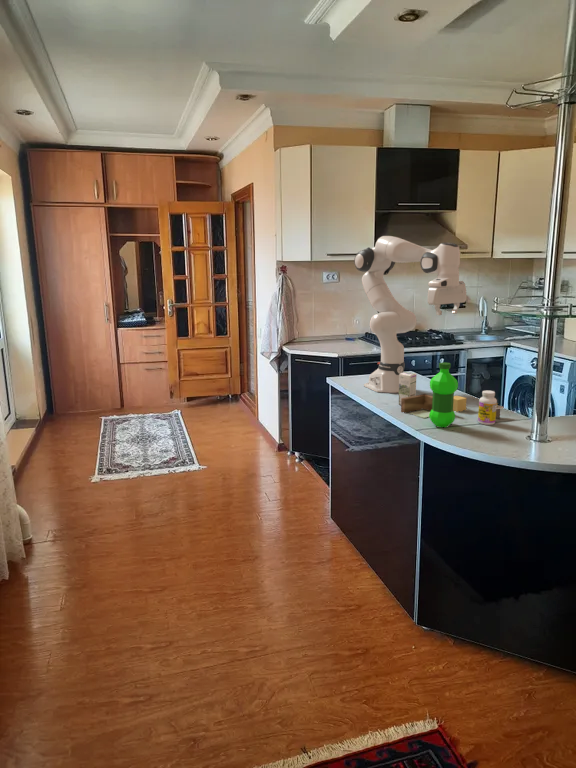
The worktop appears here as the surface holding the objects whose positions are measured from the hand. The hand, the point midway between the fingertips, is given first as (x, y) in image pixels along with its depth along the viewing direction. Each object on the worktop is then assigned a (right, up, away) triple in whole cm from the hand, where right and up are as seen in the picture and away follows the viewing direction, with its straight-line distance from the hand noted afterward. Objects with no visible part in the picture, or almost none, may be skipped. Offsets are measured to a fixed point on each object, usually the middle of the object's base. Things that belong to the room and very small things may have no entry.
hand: (446, 314), depth 241 cm
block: (+5, -41, +2) cm, 42 cm away
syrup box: (-15, -40, +11) cm, 44 cm away
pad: (-11, -43, -5) cm, 45 cm away
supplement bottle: (+11, -46, -17) cm, 50 cm away
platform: (+15, -45, -10) cm, 48 cm away
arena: (-10, -43, -3) cm, 44 cm away
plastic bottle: (-8, -47, -20) cm, 51 cm away
